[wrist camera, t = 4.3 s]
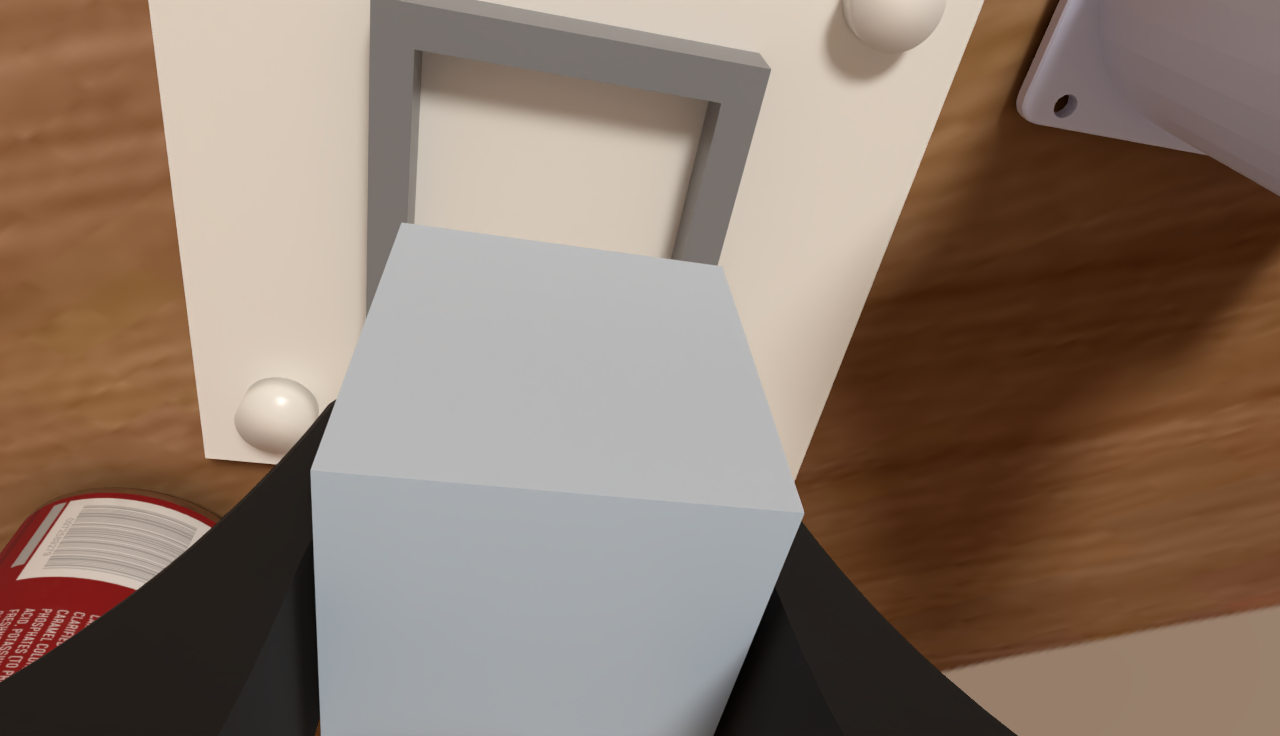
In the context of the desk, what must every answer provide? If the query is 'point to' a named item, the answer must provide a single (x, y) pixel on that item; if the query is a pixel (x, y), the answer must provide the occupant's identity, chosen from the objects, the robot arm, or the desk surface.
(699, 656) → the light grey block
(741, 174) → the baseplate
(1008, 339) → the desk surface
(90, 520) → the soda can
